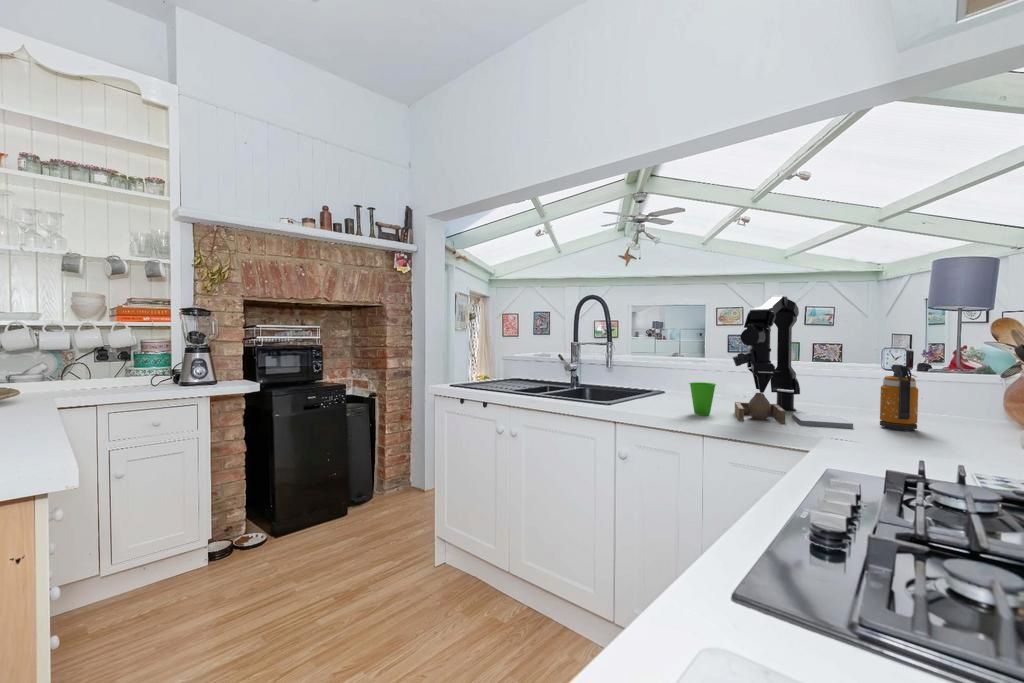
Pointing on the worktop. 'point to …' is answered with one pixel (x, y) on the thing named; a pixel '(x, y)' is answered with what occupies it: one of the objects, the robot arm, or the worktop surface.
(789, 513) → the worktop surface
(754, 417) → the vase
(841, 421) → the board
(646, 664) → the worktop surface
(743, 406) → the holder
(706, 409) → the cup
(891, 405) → the canister
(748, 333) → the robot arm
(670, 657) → the worktop surface
